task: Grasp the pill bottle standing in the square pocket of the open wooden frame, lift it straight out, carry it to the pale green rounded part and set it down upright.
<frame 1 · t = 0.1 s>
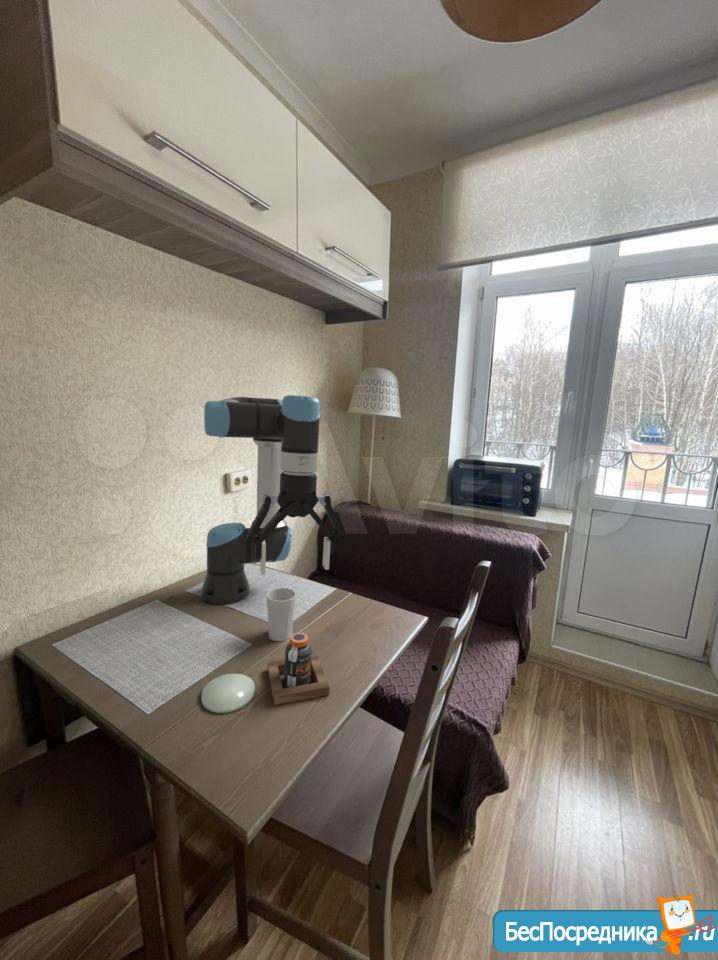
hand: (295, 569, 83), 28 cm above the table, fingers open, 13 cm apart
pill bottle: (297, 682, 89), resting in open wooden frame
cup: (280, 635, 107), on the table
pale green rounded part: (228, 693, 84), on the table
open wooden frame: (297, 681, 89), on the table
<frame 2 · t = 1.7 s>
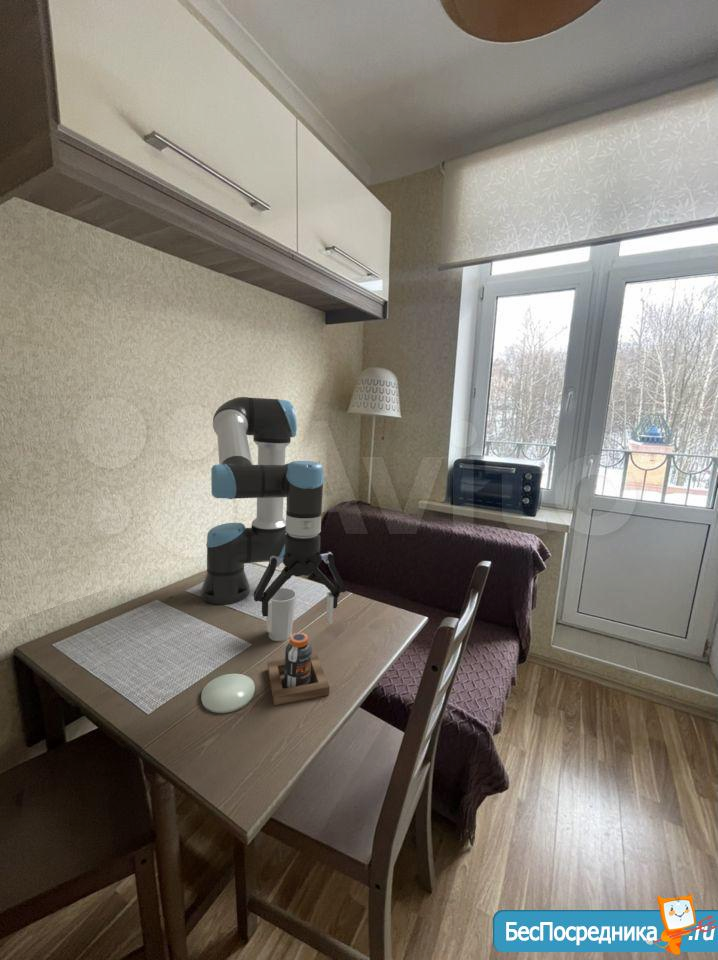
hand: (299, 624, 86), 14 cm above the table, fingers open, 13 cm apart
nothing on the table moved.
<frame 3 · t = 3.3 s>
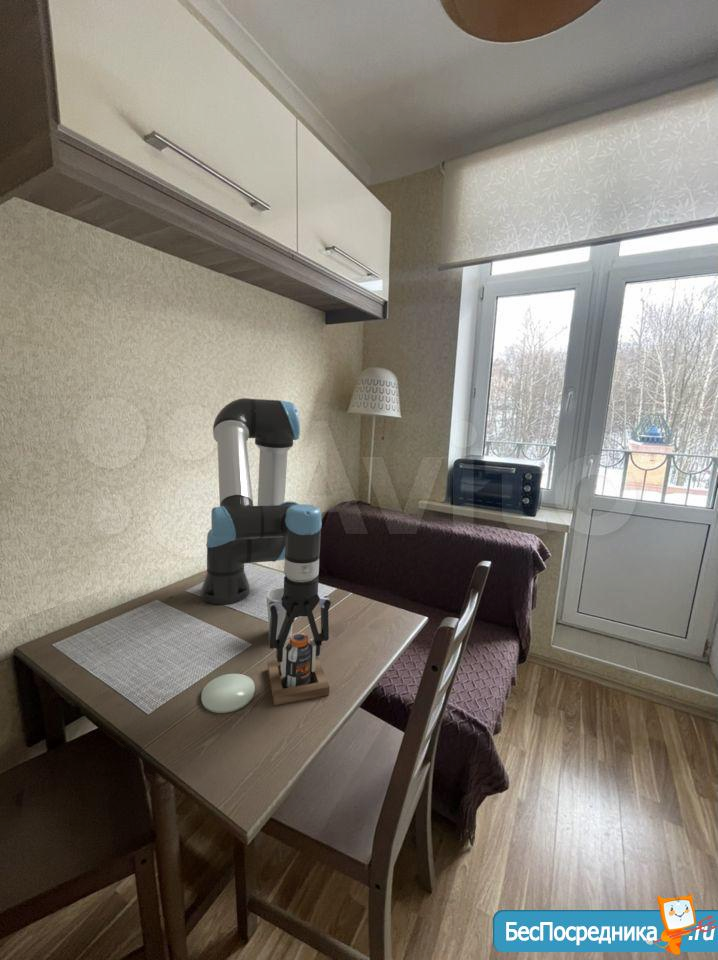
hand: (297, 670, 88), 3 cm above the table, fingers closed on pill bottle, 6 cm apart
pill bottle: (297, 682, 89), resting in open wooden frame, touching gripper
everything else where it was.
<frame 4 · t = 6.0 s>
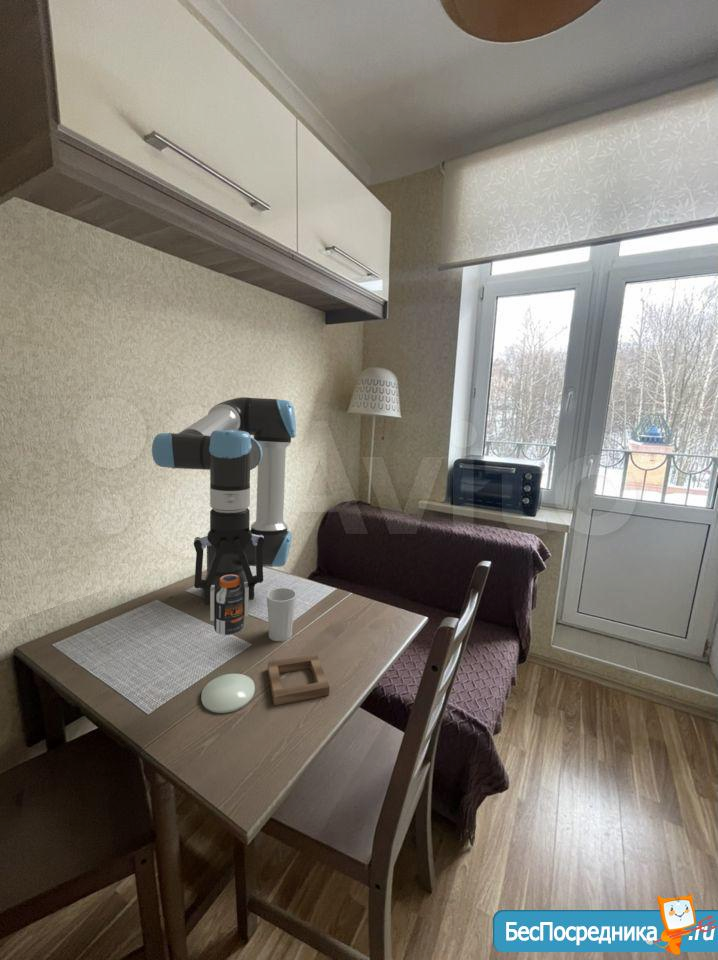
hand: (229, 615, 81), 18 cm above the table, fingers closed on pill bottle, 6 cm apart
pill bottle: (229, 629, 81), point 15 cm above the table, touching gripper
everything else where it was.
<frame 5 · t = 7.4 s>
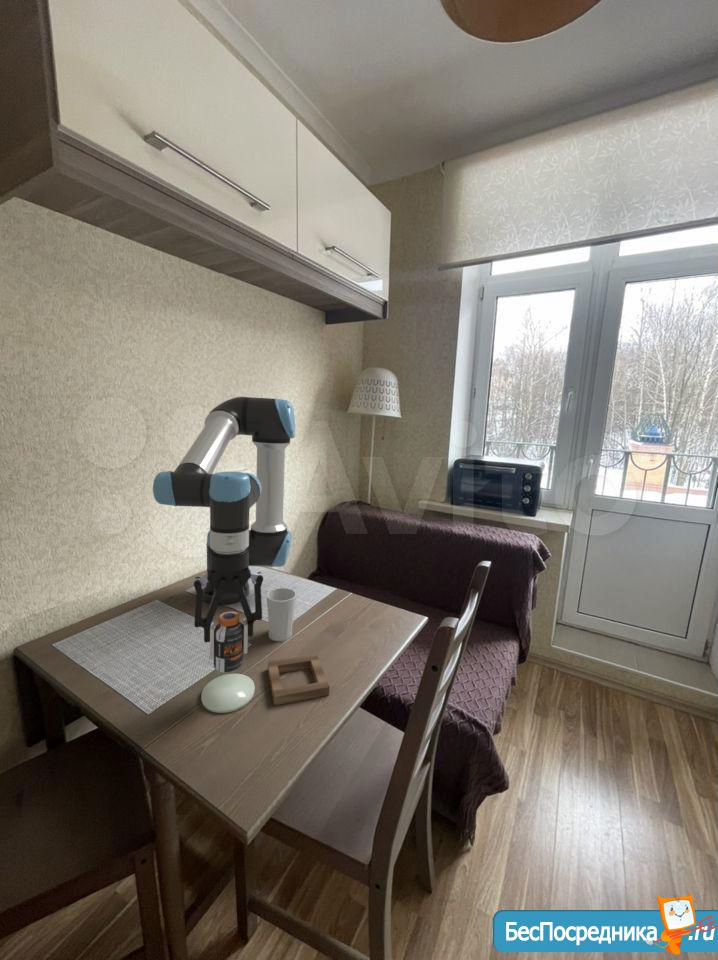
hand: (228, 651, 82), 10 cm above the table, fingers closed on pill bottle, 6 cm apart
pill bottle: (228, 665, 82), point 7 cm above the table, touching gripper
everything else where it was.
when the fingers open (5 cm above the table, at t = 8.7 s): pill bottle drops 1 cm, resting on pale green rounded part.
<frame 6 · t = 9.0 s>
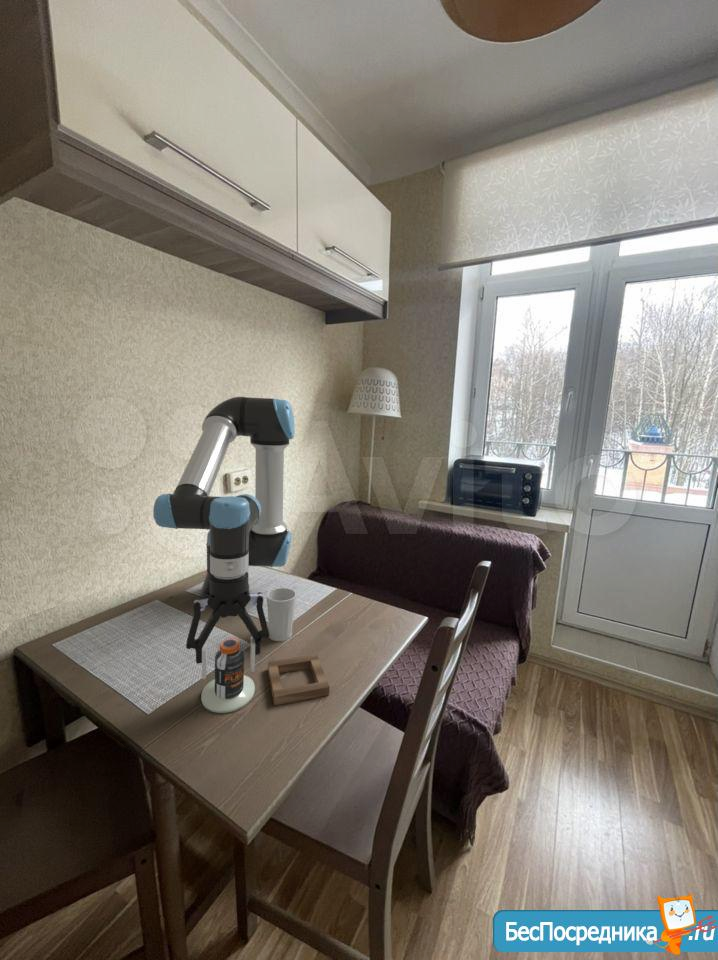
hand: (228, 670, 83), 6 cm above the table, fingers open, 9 cm apart
pill bottle: (229, 691, 84), point 1 cm above the table, touching pale green rounded part
everything else where it was.
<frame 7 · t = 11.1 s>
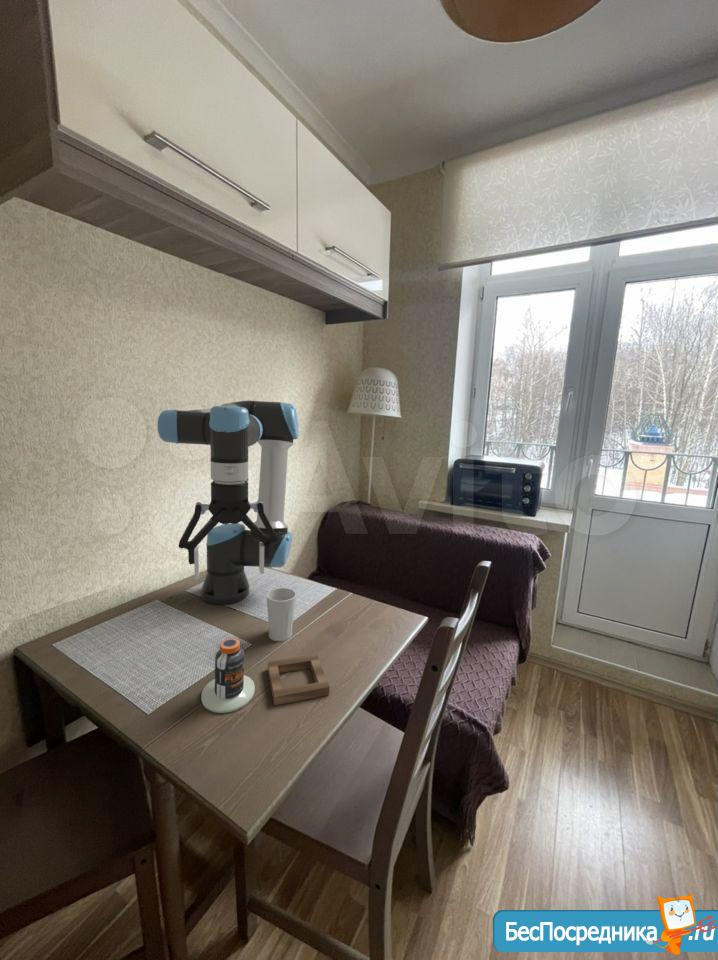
hand: (230, 574, 85), 25 cm above the table, fingers open, 13 cm apart
nothing on the table moved.
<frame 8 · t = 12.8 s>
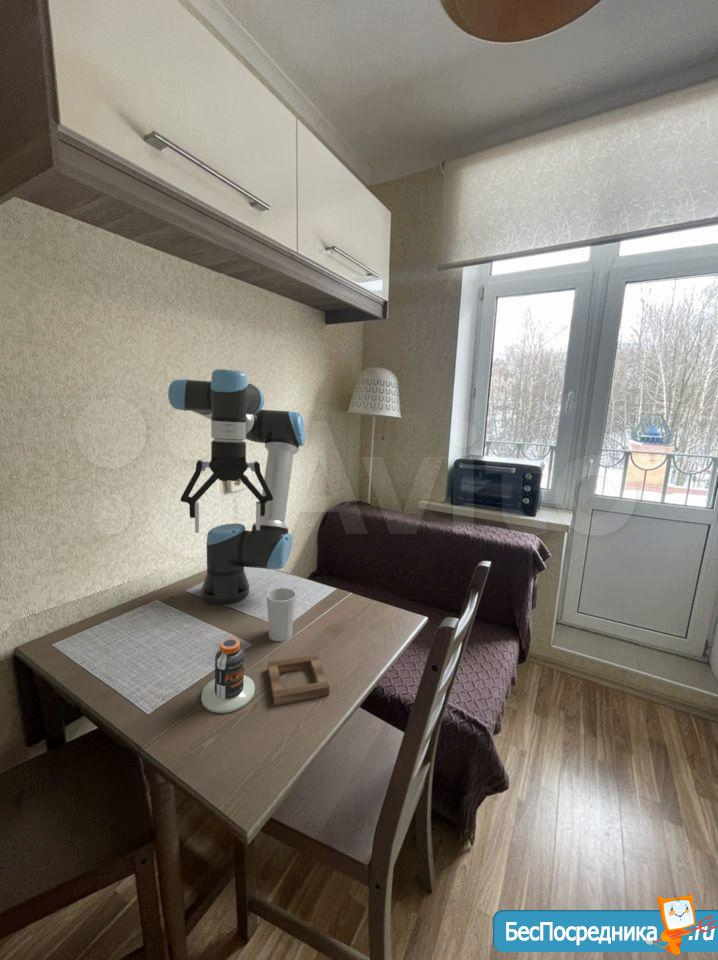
hand: (228, 530, 91), 33 cm above the table, fingers open, 13 cm apart
nothing on the table moved.
at the end: pill bottle 0.1 cm from the pale green rounded part (horizontally); pill bottle point 0.6 cm above the table; pill bottle tilted 0° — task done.
